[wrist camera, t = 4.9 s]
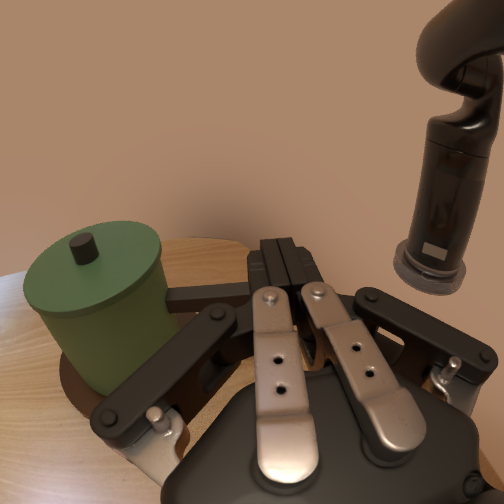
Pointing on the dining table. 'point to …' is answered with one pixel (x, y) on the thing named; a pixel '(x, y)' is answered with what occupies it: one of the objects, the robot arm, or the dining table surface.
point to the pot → (113, 299)
